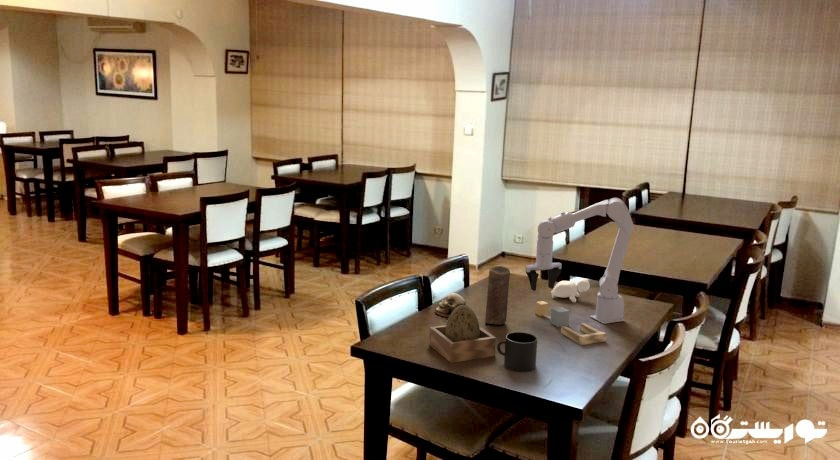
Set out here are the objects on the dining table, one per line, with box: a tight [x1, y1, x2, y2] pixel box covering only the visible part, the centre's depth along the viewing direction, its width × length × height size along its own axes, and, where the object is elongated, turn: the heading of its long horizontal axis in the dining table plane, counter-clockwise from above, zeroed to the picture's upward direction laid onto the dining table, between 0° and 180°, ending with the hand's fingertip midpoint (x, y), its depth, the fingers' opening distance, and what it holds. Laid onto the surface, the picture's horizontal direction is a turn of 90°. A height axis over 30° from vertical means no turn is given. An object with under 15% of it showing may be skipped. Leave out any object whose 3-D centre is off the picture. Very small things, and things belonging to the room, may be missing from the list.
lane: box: [560, 323, 607, 346], centre depth 236 cm, size 10×12×3 cm
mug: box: [496, 331, 538, 373], centre depth 211 cm, size 9×12×9 cm
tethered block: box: [535, 300, 571, 328], centre depth 252 cm, size 4×15×6 cm, turn 24°
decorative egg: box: [445, 304, 481, 342], centre depth 220 cm, size 11×11×15 cm
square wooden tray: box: [428, 324, 497, 364], centre depth 221 cm, size 15×15×6 cm
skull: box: [434, 292, 467, 318], centre depth 257 cm, size 12×10×10 cm
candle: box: [484, 265, 511, 326], centre depth 245 cm, size 8×7×20 cm
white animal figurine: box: [550, 278, 591, 303], centre depth 277 cm, size 9×8×15 cm
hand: (542, 288), depth 257 cm, fingers open, 7 cm apart
